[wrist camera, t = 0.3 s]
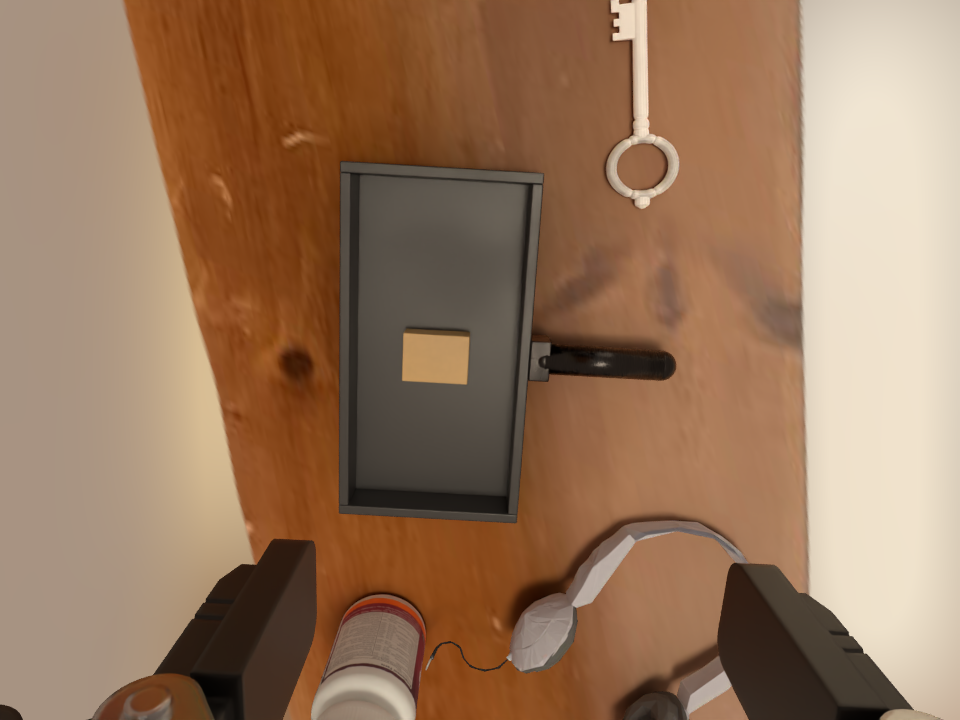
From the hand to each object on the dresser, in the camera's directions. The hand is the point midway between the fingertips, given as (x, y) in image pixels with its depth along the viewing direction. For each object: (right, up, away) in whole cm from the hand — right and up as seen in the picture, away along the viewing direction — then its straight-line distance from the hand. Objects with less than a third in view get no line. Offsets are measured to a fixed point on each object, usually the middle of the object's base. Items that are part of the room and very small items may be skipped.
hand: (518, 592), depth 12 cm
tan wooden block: (-3, +5, +27) cm, 28 cm away
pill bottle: (-8, -15, +33) cm, 37 cm away
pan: (-3, +6, +28) cm, 28 cm away
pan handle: (+7, +5, +27) cm, 28 cm away
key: (+8, +19, +24) cm, 32 cm away
